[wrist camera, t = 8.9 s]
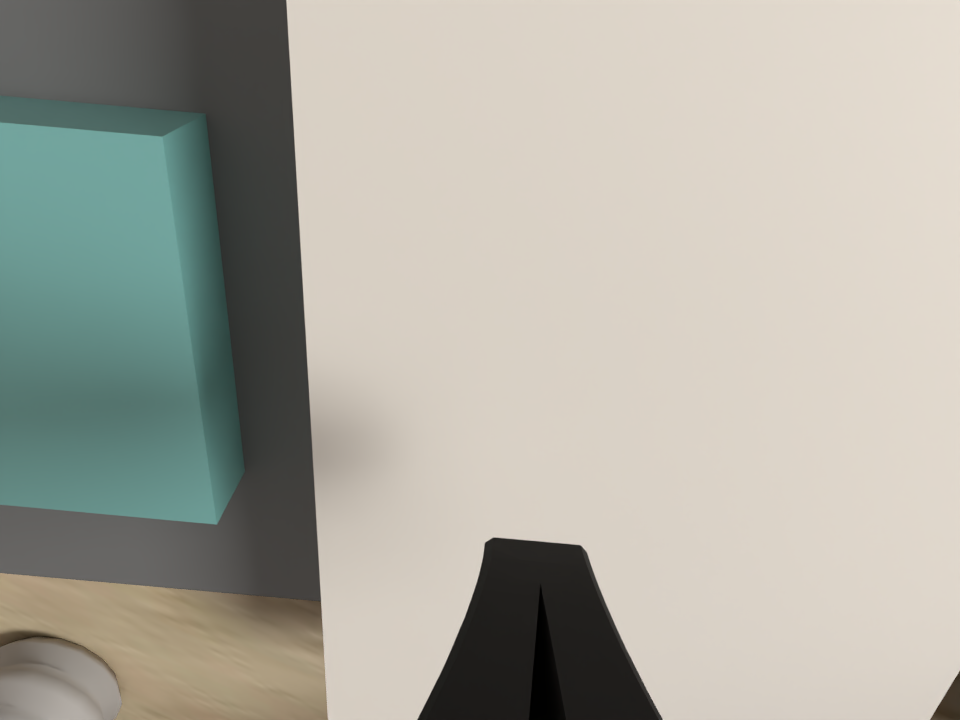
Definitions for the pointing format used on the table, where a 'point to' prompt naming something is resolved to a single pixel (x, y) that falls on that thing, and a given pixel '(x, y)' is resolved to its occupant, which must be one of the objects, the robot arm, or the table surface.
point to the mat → (246, 269)
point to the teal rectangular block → (113, 315)
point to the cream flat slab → (639, 336)
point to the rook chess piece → (55, 682)
